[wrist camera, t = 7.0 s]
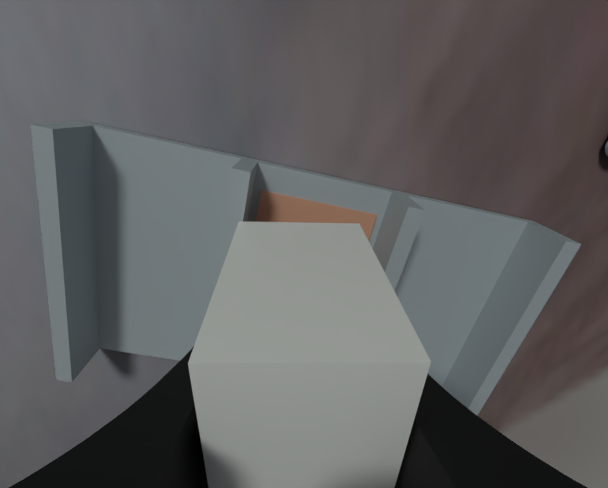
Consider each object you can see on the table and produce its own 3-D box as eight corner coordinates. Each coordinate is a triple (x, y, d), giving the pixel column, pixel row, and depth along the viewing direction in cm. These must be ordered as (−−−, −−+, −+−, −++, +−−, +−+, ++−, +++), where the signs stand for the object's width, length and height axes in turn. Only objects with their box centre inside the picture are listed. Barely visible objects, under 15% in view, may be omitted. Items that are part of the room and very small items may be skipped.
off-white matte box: (359, 223, 11) (431, 361, 5) (340, 373, 14) (374, 555, 8) (239, 221, 11) (187, 363, 5) (247, 374, 14) (221, 562, 8)
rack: (532, 220, 13) (581, 244, 11) (441, 392, 17) (464, 436, 15) (83, 121, 12) (30, 124, 9) (92, 339, 15) (56, 380, 13)
